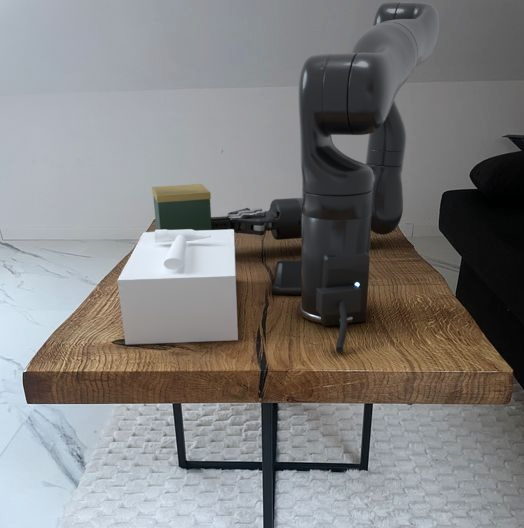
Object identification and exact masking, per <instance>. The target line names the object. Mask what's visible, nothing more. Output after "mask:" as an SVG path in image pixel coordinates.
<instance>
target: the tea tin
mask: <svg viewBox="0 0 524 528" xmlns="http://www.w3.org/2000/svg"><path fill="white" fill-rule="evenodd" d="M151 189H152V190H151V193H152V196H153V198H152V199H153V207H154V208H153V209H154V218H155V228H156V229H155V230H164V229H167V230H185V229H192V230H195V231H199V230H212V225H211V217H212V210H211V209H212V208H211V197H212V196H211V191H210V190H209V189H208V188H207V187H205V185H203V184H202V183H196V184H193V183H192V184H179V185H178V184H177V185H164V186H151Z"/></svg>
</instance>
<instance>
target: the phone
mask: <svg viewBox="0 0 524 528" xmlns="http://www.w3.org/2000/svg"><path fill="white" fill-rule="evenodd" d="M275 266H276V267H275V271H274V276H273V282H272V294H274V295H281V296H282V295H283V296H284V295H287V296H288V295H290V296H291V295H294V296H295V295H296V296H298V295H299V296H300V295H301V260H278V261H277V262H276V265H275Z"/></svg>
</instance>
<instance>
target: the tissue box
mask: <svg viewBox="0 0 524 528" xmlns="http://www.w3.org/2000/svg"><path fill="white" fill-rule="evenodd" d="M235 245H236V244H235V233H234V229H230V230H229V229H228V230H199V231H195V230H192V229H185V230H167V229H164V230H156V229H155V230H154V231H144V232H143V233H142V235H141V236H140V238H139V240H138V242H137V243H136V245H135V247H134V249H133V251H132V253H131V254H130V256H129V258H128V260H127V262H126V263H125V265H124V266H123V269H122V270H121V273H120V275H119V276H118V278H117V280H116V281H117V287H118V288H117V289H118V297H119V304H120V313H121V321H122V328H123V335H124V336H123V337H124V343H125V345H149V344H150V345H151V344H152V345H153V344H174V343H175V344H176V343H178V344H179V343H200V342H201V343H202V342H224V341H225V342H227V341H239V329H238V302H237V301H238V299H237V297H238V296H237V271H236V249H235Z"/></svg>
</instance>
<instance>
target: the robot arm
mask: <svg viewBox="0 0 524 528" xmlns="http://www.w3.org/2000/svg"><path fill="white" fill-rule="evenodd" d="M439 17H440V16H439V13H438V10H437V9H436V7H435V6H434V5H433V4H431V3H428V2H421V1H419V2H418V1H385V2H381V4H379V6H378V7H377V9H376V12H375V14H374V17H373V21H372V26H371V27H370V28H368V29H367V30H366V31H365V32H364V33H363V34H361V36H359V38H358V39H357V40H356V42H355V43H354V45H353V47H352V49H351V52H343V53H322V54H319V53H318V54H313V55H310V56H309V57H307V59H306V60H304V62H303V64H302V68H301V70H300V74H299V79H298V96H297V97H298V119H299V121H298V122H299V142H300V145H299V146H300V172H301V173H300V174H301V190H302V191H301V197H292V198H290V197H289V198H275V199H273V200H272V201H271V202H270V205H269V209H268V210H263V208H260V207H259V208H258V207H256V208H253V209H251V208H249V207H246V208H242V209H238V210H235V211H230V212H228V213H227V214H226V215H223V216H211V225H212V230H230V229H234V234H242V235H243V234H244V235H254V236H255V235H256V236H264V235H265V234H266V232H270V233H271V235H272V237H273V238H274V239H275V240H276V241H281V240H295V239H301V259H300V261H301V296H300V315H301V316H302V317H303V318H305V319H306V320H308V321H310V322H314V323H318V324H320V325H322V326H323V327H330V326H332V327H333V326H339V330H338V331H339V332H338V336H337V340H336V345H335V351H336V352H337V354H341V353H343V352H344V345H345V341H346V336H347V332H348V324H356V323H364V322H367V315H368V299H369V298H368V297H369V280H370V261H371V260H370V259H371V257H370V253H371V252H370V250H371V232H373V233H375V234H377V235H380V236H382V235H384V236H385V235H389V234H391V233H393V232H394V231H395V230H396V229H397V228H398V226H399V224H400V222H401V219H402V216H403V211H404V193H403V181H402V180H403V179H402V173H403V168H404V166H403V165H404V160H405V153H406V147H407V131H406V127H405V122H404V119H403V118H402V115H401V113H400V111H399V108H398V106H397V102H396V101H395V99H396V97H397V94H398V93H399V91H400V90H401V88H402V87H403V86H404V85H405V84H406V82H407V81H408V80H409V79H410V77H411V76H412V75H413V73H414V71H415V69H416V68H417V67H419V66H420V65H422V64H423V63H425V62H426V61H427V60H429V58H430V57H431V55H432V54H433V52H434V50H435V48H436V45H437V43H438V38H439V34H440V18H439ZM334 135H336V136H365V135H368V140H367V146H366V147H367V148H366V155H365V163H364V162H361V161H359V160H356V159H354V158H352V157H350V156H348V155H347V154H345V153H343V152H342V151H341V150H340V149H338V147H336V146H335V143H334V141H333V137H332V136H334Z"/></svg>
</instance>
